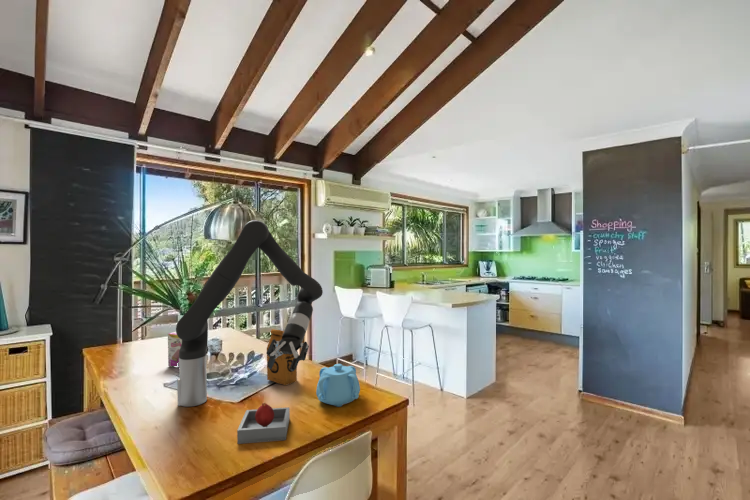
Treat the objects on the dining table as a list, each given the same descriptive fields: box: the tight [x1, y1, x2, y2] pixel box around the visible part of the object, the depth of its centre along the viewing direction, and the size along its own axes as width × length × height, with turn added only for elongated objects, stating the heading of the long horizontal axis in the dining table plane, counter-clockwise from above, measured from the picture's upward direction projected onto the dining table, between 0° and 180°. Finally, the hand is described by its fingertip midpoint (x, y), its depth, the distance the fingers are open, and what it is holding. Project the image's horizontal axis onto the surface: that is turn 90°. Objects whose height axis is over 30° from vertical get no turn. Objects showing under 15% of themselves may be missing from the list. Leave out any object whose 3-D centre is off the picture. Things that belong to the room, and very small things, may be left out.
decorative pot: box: [315, 363, 361, 408], centre depth 144 cm, size 16×16×14 cm
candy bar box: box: [167, 331, 182, 366], centre depth 185 cm, size 11×5×16 cm, turn 71°
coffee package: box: [266, 328, 298, 386], centre depth 164 cm, size 10×12×22 cm
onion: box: [255, 401, 274, 427], centre depth 121 cm, size 6×6×8 cm
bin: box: [236, 406, 291, 445], centre depth 121 cm, size 14×14×4 cm
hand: (280, 369), depth 130 cm, fingers open, 8 cm apart
